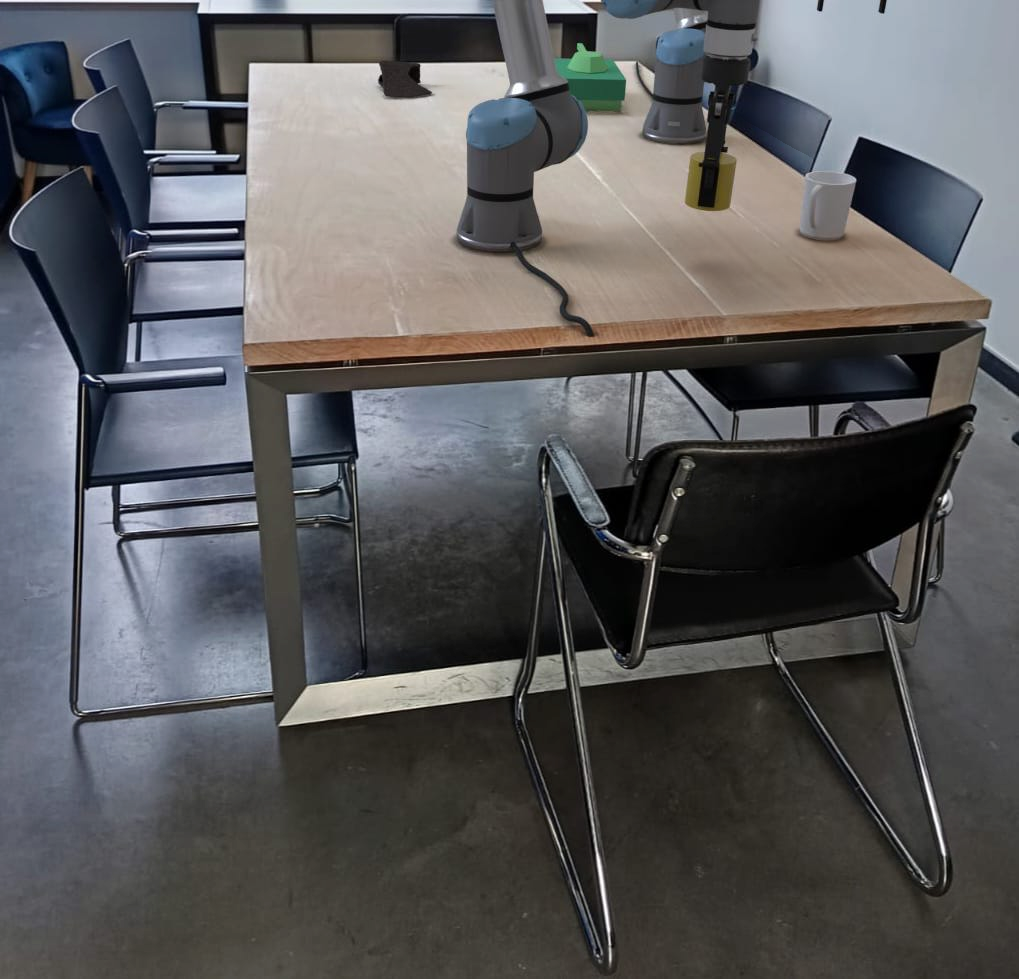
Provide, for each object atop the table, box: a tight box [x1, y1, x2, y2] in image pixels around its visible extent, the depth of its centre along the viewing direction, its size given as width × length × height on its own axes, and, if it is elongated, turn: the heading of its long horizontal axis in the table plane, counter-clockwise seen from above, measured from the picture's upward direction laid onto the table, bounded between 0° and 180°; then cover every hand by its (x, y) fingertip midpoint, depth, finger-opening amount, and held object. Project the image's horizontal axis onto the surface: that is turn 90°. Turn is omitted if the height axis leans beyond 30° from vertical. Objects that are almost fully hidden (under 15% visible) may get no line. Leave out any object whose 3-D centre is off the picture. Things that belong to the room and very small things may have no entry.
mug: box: [798, 170, 857, 241], centre depth 199 cm, size 11×9×10 cm
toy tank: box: [554, 42, 627, 112], centre depth 293 cm, size 18×12×35 cm
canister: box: [684, 151, 738, 212], centre depth 182 cm, size 8×8×8 cm
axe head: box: [377, 59, 433, 99], centre depth 299 cm, size 18×8×15 cm
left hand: (707, 198), depth 184 cm, fingers closed on canister, 8 cm apart
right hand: (850, 11), depth 243 cm, fingers open, 13 cm apart
